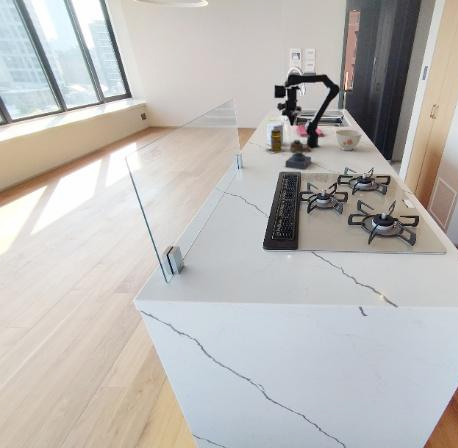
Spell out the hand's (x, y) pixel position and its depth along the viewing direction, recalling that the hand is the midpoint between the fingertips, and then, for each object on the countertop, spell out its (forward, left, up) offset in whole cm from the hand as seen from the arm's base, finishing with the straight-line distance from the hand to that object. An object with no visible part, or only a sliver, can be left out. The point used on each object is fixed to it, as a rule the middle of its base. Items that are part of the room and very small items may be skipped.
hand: (291, 125), depth 173 cm
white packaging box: (+6, -10, -13) cm, 18 cm away
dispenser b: (0, +8, -13) cm, 16 cm away
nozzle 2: (+15, +29, -8) cm, 34 cm away
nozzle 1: (+1, +8, -9) cm, 12 cm away
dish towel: (-32, -24, -13) cm, 42 cm away
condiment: (+13, +1, -13) cm, 19 cm away
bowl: (-27, +22, -13) cm, 37 cm away
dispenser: (+15, +29, -13) cm, 35 cm away
